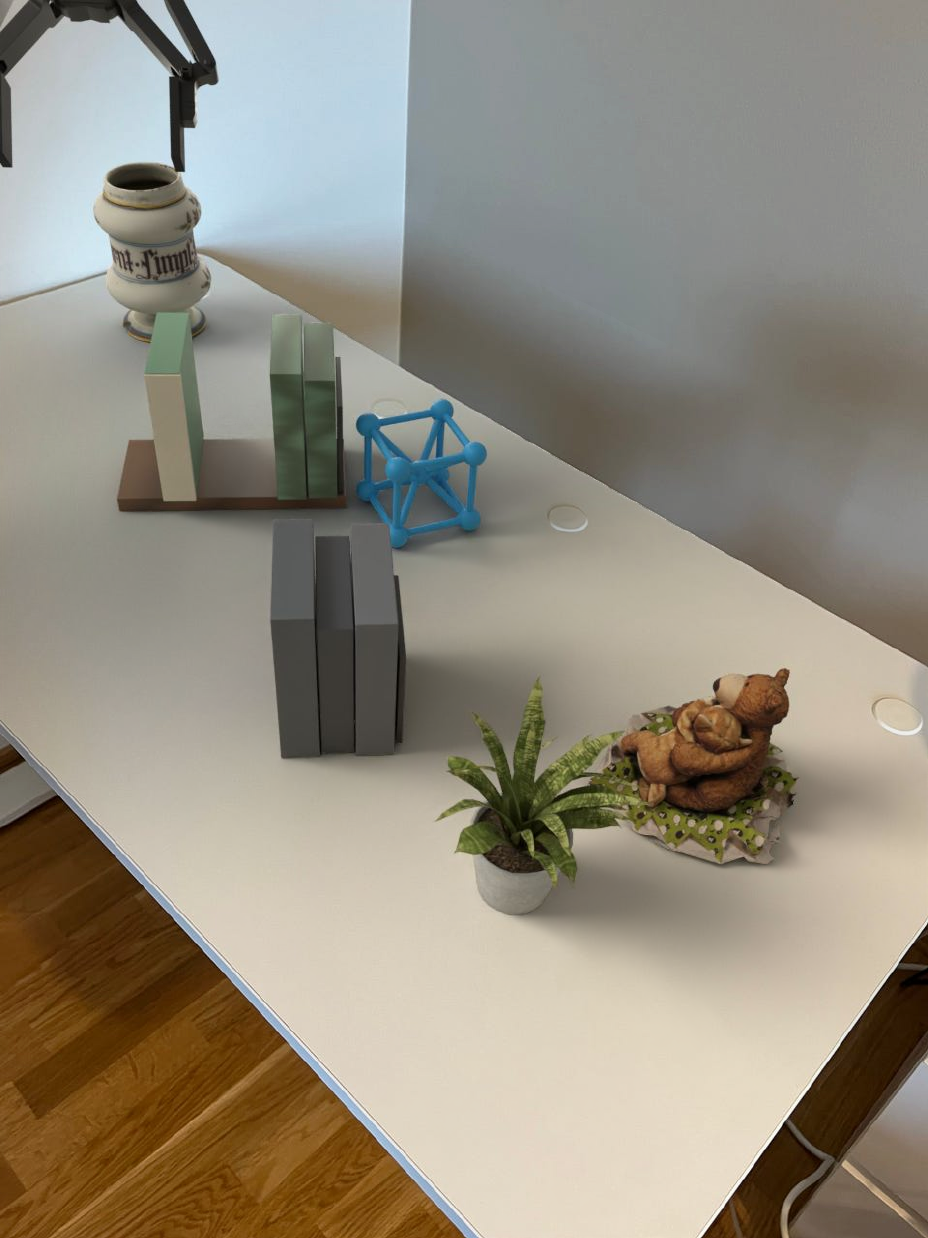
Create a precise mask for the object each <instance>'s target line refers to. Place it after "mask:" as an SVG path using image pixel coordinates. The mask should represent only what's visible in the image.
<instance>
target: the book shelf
mask: <svg viewBox="0 0 928 1238" xmlns="http://www.w3.org/2000/svg"><path fill="white" fill-rule="evenodd" d="M302 316H303V315H302V314H301V313H299V314H298V313H272V314H271V329H270V353H269V357H270V358H269V387H270V403H271V417H272V433H273V438H238V439H237V438H233V439H232V438H229V439H228V438H223V439H222V438H219V439H218V438H217V439H211V438H209V439H208V438H207V439H205V438H203V446H202V455H201V463H200V472H199V480H198V489H197V500H196V501H164V500H163V494H162V488H161V481H160V475H159V469H158V462H157V456H156V450H155V444H154V439H129V440H128V442H127V443H128V444H127V446H126V447H127V448H126V451H125V457H124V461H123V468H122V473H121V477H120V483H119V486H118V492H117V495H116V496H117V497H116V501H117V507H118V511H119V512H139V511H140V512H141V511H142V512H147V511H150V512H151V511H154V512H155V511H225V510H228V511H229V510H294V509H295V510H297V509H299V510H300V509H301V510H302V509H305V510H306V509H307V510H308V509H347V507H348V506H347V505H348V504H347V500H348V498H347V496H348V495H347V477H346V476H347V475H346V457H345V456H346V455H345V439H344V404H343V403H344V402H343V384H342V382H343V381H342V362H341V356H335V337H334V336H335V335H334V323H333V322H304V323H303V318H302Z"/></svg>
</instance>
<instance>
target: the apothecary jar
mask: <svg viewBox="0 0 928 1238" xmlns="http://www.w3.org/2000/svg"><path fill="white" fill-rule="evenodd" d="M93 217H94V220H95V222H96V223H97V225H98V227H99V228H100V229H101V230H102V231H104V232H105V233H106V234H108V239H109V244H110V245H109V246H110V249H111V257H112V263H111V264H110V265H109V267H108V269H107V272H106V275H105V286H106V289H107V291H108V293H109V294H110V296H111V297H112V299H114V300H115V302H117V303H118V304H120V305H121V306H123V307H124V308H126V309H128V311H127V312H126V313H125V315H124V317H123V319H122V327H123V328H125V329H127V330H128V331H127V334H128V335H129V336H130V337H132V338H134V339H136V340H138V341H142V342H146V343H151V339H152V334H153V329H154V324H155V319H156V314H157V313H189V317H190V325H191V334H192V338H193V337H195V336H196V335H198V334H199V333H201V332H202V331H203V330H204V329H205V327H206V324H207V318H206V315H205V312H203V311H202V309H200V308H199V307H197V306H196V304H198V303H199V302H200V301H201V300H202V299H203V298H204V297H205V296H206V295H207V294H208V292H209V291H210V288H211V284H212V275H211V270H210V269H209V266H208V265H207V264H206V262H204V261H203V259H202V258H201V257H200V256H198V252H197V247H196V246H197V245H196V240H195V232H194V229H195V227H197V225H198V224H199V222H200V220H201V217H202V205H201V202H200V200H199V197H198V196H197V195H196V194H195V193H194V192H193V191H192V190H191V189H190V188H188V187H187V186H186V185H185V184H184V181H183V176H182V172H176V171H175V168H174V165H171V164H166V163H163V162H156V161H155V162H154V161H134V162H128V163H124V164H121V165H120V164H119V165H117V166H115V167H113V168H111V169H109V170H108V171H107V172H106V173H105V174H104V176H103V189H102V191H101V192H100V194H99V195H97V197H96V199H95V201H94V204H93Z"/></svg>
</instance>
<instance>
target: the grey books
mask: <svg viewBox="0 0 928 1238" xmlns="http://www.w3.org/2000/svg"><path fill="white" fill-rule="evenodd" d="M314 527H315V525H314V519H313V518H295V519H294V518H290V519H288V518H286V519H273V520H272V549H271V556H272V557H271V578H270V579H271V583H270V611H269V612H270V613H269V622H270V635H271V650H272V660H273V661H272V662H273V672H274V685H275V686H274V687H275V696H276V697H275V699H276V709H277V721H278V722H277V724H278V736H279V747H280V749H279V750H280V758H281V759H295V758H316V757H317V758H318V757H319V758H320V756H321V754H338V753H339V754H342V753H355V756H356V757H361V756H364V757H365V756H366V757H367V756H386V755H387V756H389V755H394V754H395V743H396V744H398V745H399V744H403V743H404V740H403V739H404V720H405V719H404V717H405V695H406V673H407V650H406V649H407V648H406V639H405V628H404V618H403V608H402V607H403V606H402V597H401V588H400V587H401V586H400V576H399V575H397V574H395V570H394V560H393V559H394V558H393V547H391V537H390V526H389V524H388V523H385V524H384V523H351V524H350V526H349V530H350V533H349V534H350V536H349V535H344V534H343V535H315V528H314Z"/></svg>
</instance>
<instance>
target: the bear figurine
mask: <svg viewBox="0 0 928 1238" xmlns="http://www.w3.org/2000/svg"><path fill="white" fill-rule="evenodd" d="M790 671H791V669H788V668H786V667H785V668H780V669H779V670H778V671H777V672H776V673H775V675H774V676H772V675H770V674H764V673H753V674H749V675H743V674H741V673H728V674H725V675H723V676H721V677H718V678H717V679H716V680H714V681H713V683H712V691H713V692H714V696H708V697H704V698H698V699H696V700H691V701H689V702H686V703H683V704H682V705H681V706H679V707H674V706H671V705H666V706H662V707H659V708H654V709H650V710H646V711H642V712H640V714H632V716H631V718H630V720H629V722H628V723H627V726H626V728H625V731H627V732H623V735H622V734H621V735H620V736H619V737H618V738H617V739H616V743H614V744H610V745H609V747H608V748H607V751H606V753H605V755H604V756H603V759H602V760H601V762H600V764H599V766H598V768H597V770H596V772H595V773H601V774H606V775H610V776H614V777H617V778H620V779H623V780H625V781H627V782H629V783H632V784H635V785H637V786H640V787H643V788H646V789H649V790H645V789H641V788H637V787H633V786H629V785H626V784H622V783H619V782H615V781H612V780H608V779H604V778H599V777H595V776H592V777H590V780H589V781H588V782H587V784H588V785H603V786H606V787H608V788H609V789H611V790H613V791H614V793H615V794H620V795H625V796H630V797H634V798H636V799H639V800H642V801H645V802H648V803H650V804H651V805H630V804H621V803H619V804H617V805H619V806H621V807H623V808H625V809H626V810H617V809H615V810H616V812H617V813H620V814H622V815H623V816H626V817H628V818H630V819H631V820H627V823H628V824H629V826H630V829H631V830H632V831H633V832H635V833H637V834H639V835H641V836H642V837H644V838H646V836H654V837H655V838H657V839H659V840H660V841H662V842H663V843H665V845H666V846H667V847H668V848H667V847H666V846H663V845H660V843H658V842H656V841H653V840H651V839H650V838H648V840H650V841H651V842H653V843H655V844H656V845H658V846H660V847H662V848H663V849H665V850H667V851H672V852H678V853H683V854H686V855H689V856H692V857H696V858H699V859H703V860H705V861H708V862H712V863H714V864H715V863H716V864H719V865H724V864H726V863H727V862H731V861H734V860H737V859H741V858H745V859H746V861H747V862H751V863H757V864H763V865H769V863H770V862H771V861H775V859H774V857H773V856H772V855H771V854H770V853H769V852H770V850H771V848H772V846H773V845H778V844H780V816H781V814H782V813H783V812H784V811H786V810H787V809H789V808H790V807H791V806H793V805H795V802H796V798H797V796H798V795H797V794H798V792H794V793H793V792H792V789H793V787H794V786H795V785H796V783H797V780H798V779H799V778H800V777H799V776H798V775H796V774H794V773H792V772H789V771H788V767H787V760H786V759H780V758H778V756H775V755H778V754H781V753H783V752H784V750H782V748H780V747H779V746H777V745H776V744H773V743H771V736H772V735H773V729H774V727H775V726H776V725H780V724H782V722H783V720H784V719H785V718H787V717H788V713H789V711H790V710H789V709H790V700H789V695H788V692H787V690H786V688H785V686H786V685H787V684H788V681H789V677H790V673H791V672H790ZM650 790H651V791H650ZM652 805H653V806H652ZM627 810H628V811H627ZM776 819H777V820H776ZM632 820H633V821H632ZM771 821H775V824H774V826H773V828H772V830H771V832H770V834H769V828H770V823H771ZM768 835H769V836H768Z"/></svg>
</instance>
